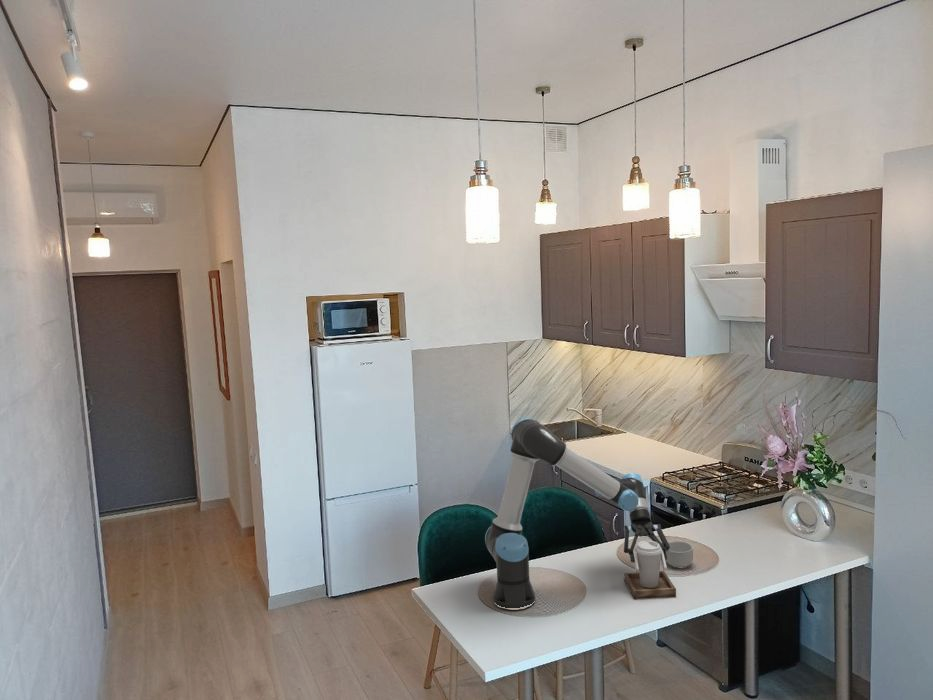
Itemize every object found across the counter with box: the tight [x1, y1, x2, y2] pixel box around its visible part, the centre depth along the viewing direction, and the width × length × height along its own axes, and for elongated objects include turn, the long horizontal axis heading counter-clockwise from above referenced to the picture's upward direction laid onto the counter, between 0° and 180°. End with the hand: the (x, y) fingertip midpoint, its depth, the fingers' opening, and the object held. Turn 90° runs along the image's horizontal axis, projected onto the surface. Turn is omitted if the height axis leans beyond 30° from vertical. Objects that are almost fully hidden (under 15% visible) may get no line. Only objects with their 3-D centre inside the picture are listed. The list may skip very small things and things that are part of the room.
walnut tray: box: [623, 570, 677, 600], centre depth 254 cm, size 15×15×3 cm
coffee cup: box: [634, 540, 662, 588], centre depth 254 cm, size 10×10×15 cm
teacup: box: [661, 540, 694, 568], centre depth 274 cm, size 14×11×8 cm
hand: (651, 569), depth 251 cm, fingers closed on coffee cup, 9 cm apart
